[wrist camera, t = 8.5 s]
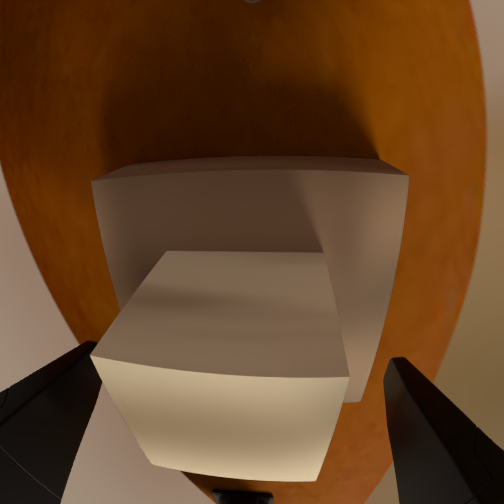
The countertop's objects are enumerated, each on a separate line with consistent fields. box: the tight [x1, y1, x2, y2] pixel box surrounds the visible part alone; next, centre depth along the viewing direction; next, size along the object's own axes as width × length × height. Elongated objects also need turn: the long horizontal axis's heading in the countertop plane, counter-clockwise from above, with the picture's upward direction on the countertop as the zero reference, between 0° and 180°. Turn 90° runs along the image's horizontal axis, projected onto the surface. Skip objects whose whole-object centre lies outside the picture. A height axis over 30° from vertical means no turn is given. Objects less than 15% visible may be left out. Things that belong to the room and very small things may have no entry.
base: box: [91, 156, 409, 403], centre depth 12 cm, size 10×10×3 cm
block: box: [90, 251, 350, 481], centre depth 8 cm, size 5×5×5 cm
